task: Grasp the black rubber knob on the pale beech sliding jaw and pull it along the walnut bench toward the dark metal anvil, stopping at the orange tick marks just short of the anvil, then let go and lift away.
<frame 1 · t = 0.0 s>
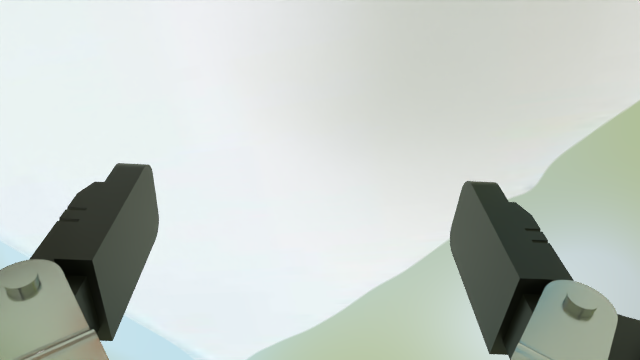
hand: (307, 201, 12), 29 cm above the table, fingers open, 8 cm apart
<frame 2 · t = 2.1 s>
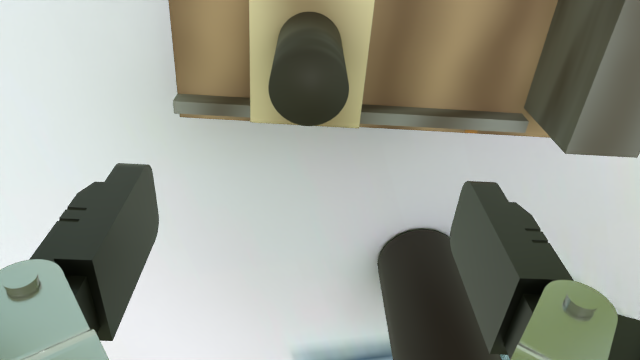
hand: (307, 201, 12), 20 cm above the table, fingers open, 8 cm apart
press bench: (408, 22, 29), on the table
sliding jaw: (309, 50, 23), point 7 cm above the table, slide at 0.0 cm
bottle: (417, 257, 40), on the table
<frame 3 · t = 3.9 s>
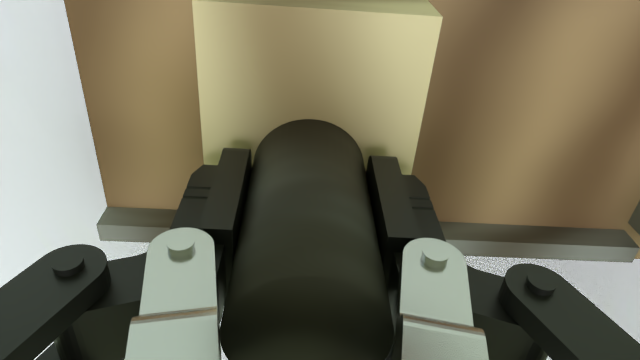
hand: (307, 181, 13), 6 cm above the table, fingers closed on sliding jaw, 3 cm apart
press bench: (459, 100, 19), on the table
sliding jaw: (308, 188, 13), point 7 cm above the table, slide at 0.0 cm, touching gripper
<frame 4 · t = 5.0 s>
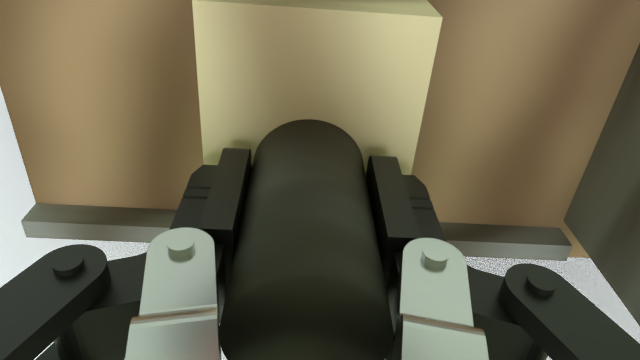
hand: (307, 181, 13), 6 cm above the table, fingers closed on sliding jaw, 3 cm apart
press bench: (388, 97, 19), on the table
sliding jaw: (308, 188, 13), point 7 cm above the table, slide at 2.9 cm, touching gripper
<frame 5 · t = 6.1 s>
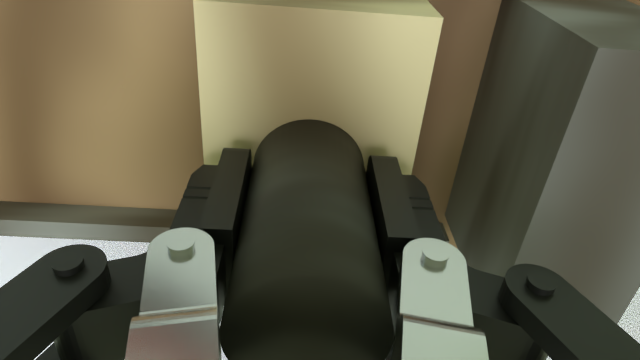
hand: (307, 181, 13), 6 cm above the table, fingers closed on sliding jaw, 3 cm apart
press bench: (257, 89, 19), on the table
sliding jaw: (308, 188, 13), point 7 cm above the table, slide at 8.0 cm, touching gripper
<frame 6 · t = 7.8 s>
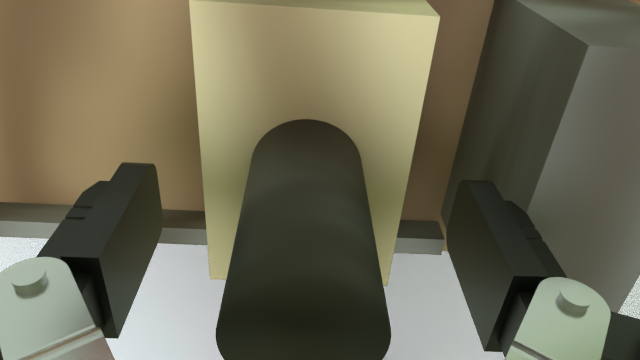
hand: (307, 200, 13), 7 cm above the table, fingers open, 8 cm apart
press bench: (252, 88, 19), on the table
sliding jaw: (306, 188, 13), point 7 cm above the table, slide at 8.2 cm
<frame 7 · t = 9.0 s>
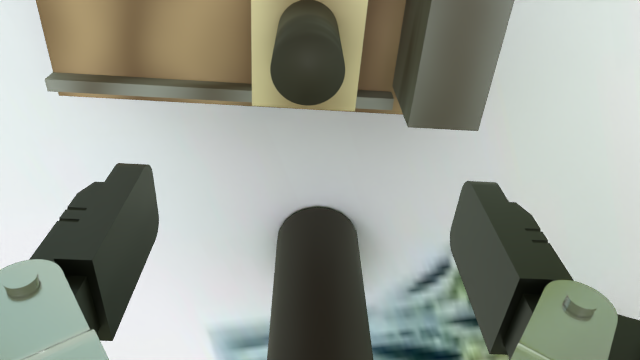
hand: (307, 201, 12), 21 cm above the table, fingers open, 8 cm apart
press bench: (274, 2, 30), on the table
sliding jaw: (308, 36, 25), point 7 cm above the table, slide at 8.2 cm
bottle: (317, 235, 41), on the table
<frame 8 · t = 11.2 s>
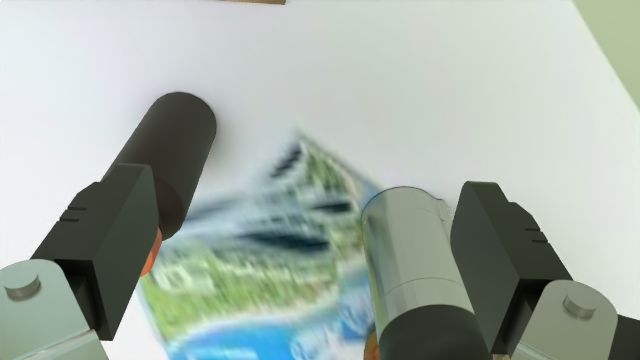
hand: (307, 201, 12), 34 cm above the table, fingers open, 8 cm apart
onion: (395, 328, 66), on the table
bottle: (183, 121, 49), on the table
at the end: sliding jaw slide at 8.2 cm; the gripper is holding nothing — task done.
